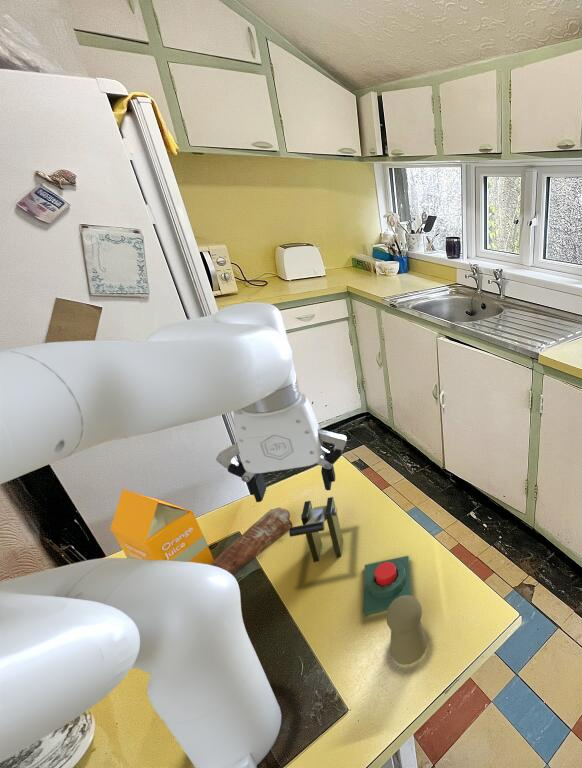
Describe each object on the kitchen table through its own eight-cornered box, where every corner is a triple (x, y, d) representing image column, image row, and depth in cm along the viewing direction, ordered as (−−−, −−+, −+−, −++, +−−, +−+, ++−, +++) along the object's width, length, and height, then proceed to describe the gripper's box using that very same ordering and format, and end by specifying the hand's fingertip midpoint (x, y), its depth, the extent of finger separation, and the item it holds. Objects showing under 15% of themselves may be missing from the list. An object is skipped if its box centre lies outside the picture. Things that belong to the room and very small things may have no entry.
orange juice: (185, 554, 81) (147, 474, 72) (218, 567, 79) (183, 486, 70) (142, 587, 74) (94, 504, 65) (176, 603, 72) (131, 518, 63)
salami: (298, 530, 87) (292, 510, 85) (207, 606, 72) (197, 584, 69) (277, 520, 89) (270, 501, 87) (184, 592, 74) (173, 571, 71)
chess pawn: (436, 649, 66) (432, 604, 61) (405, 680, 62) (398, 635, 57) (413, 625, 69) (407, 581, 64) (382, 653, 65) (373, 608, 60)
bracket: (352, 575, 78) (341, 526, 72) (300, 587, 75) (284, 536, 69) (355, 528, 88) (345, 482, 82) (309, 537, 86) (296, 490, 80)
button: (397, 583, 72) (396, 576, 71) (375, 588, 71) (374, 581, 71) (396, 566, 75) (395, 559, 75) (375, 571, 74) (374, 564, 74)
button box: (413, 609, 72) (410, 594, 70) (364, 621, 70) (361, 606, 68) (409, 563, 80) (407, 548, 78) (366, 572, 78) (363, 558, 76)
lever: (323, 534, 67) (322, 519, 67) (289, 540, 66) (288, 525, 66) (335, 516, 79) (334, 503, 79) (307, 521, 77) (306, 508, 77)
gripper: (185, 415, 51) (225, 518, 59) (334, 399, 56) (353, 496, 63) (206, 389, 58) (240, 484, 65) (338, 376, 62) (355, 466, 70)
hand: (296, 490), depth 64 cm, fingers open, 9 cm apart
